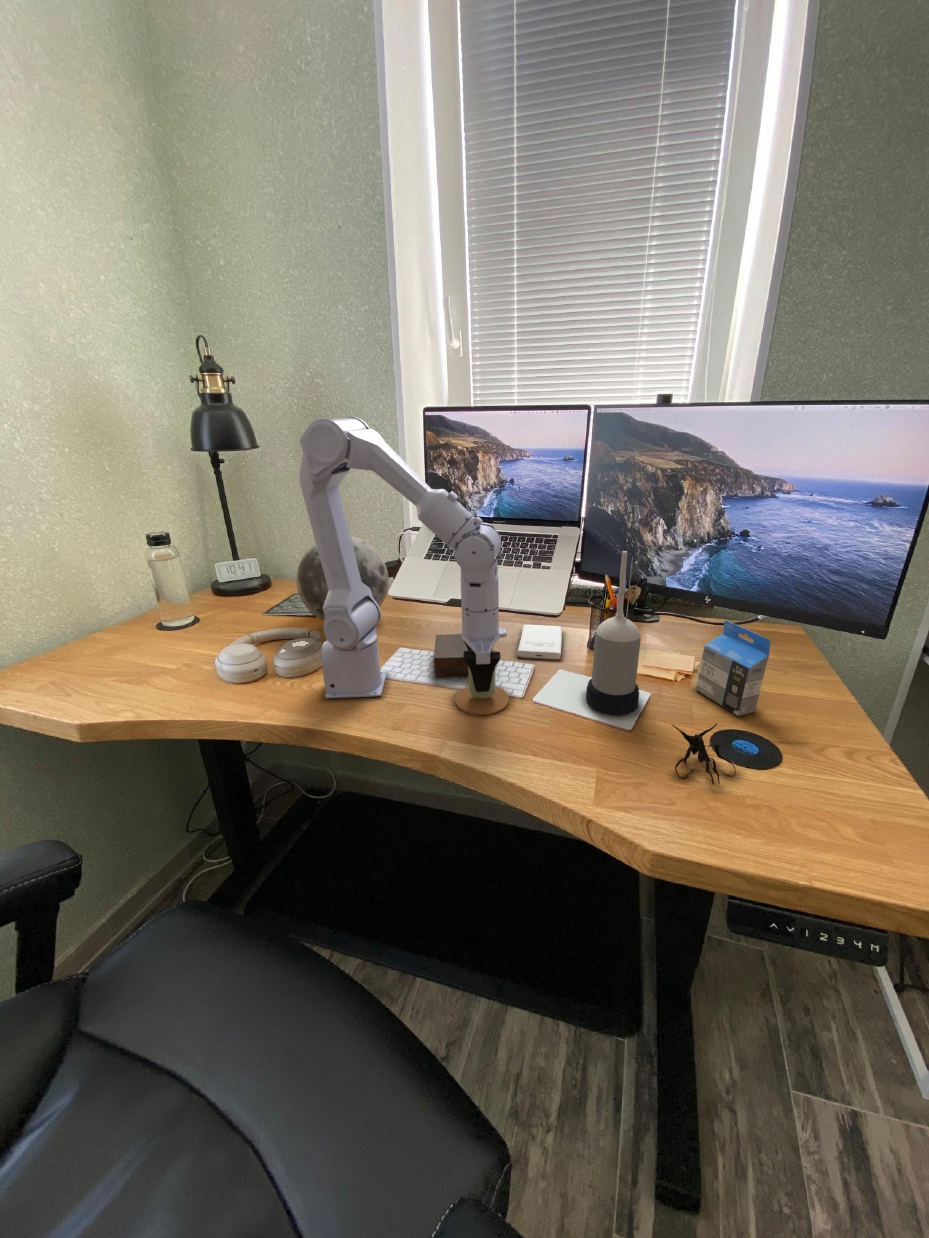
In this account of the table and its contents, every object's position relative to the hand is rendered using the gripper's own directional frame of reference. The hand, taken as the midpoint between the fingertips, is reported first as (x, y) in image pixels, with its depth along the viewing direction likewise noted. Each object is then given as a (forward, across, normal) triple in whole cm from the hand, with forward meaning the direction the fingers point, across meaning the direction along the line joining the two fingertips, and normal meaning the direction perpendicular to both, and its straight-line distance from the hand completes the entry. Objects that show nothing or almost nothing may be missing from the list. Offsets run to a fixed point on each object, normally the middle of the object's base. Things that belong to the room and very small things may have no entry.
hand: (481, 682), depth 82 cm
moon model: (+3, +36, +29) cm, 46 cm away
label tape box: (+3, -3, -39) cm, 39 cm away
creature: (+3, -19, -28) cm, 34 cm away
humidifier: (+3, -2, -21) cm, 21 cm away
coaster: (+3, 0, 0) cm, 3 cm away
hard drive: (+3, +20, -13) cm, 24 cm away
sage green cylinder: (+2, 0, 0) cm, 2 cm away
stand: (+3, +13, +3) cm, 14 cm away
